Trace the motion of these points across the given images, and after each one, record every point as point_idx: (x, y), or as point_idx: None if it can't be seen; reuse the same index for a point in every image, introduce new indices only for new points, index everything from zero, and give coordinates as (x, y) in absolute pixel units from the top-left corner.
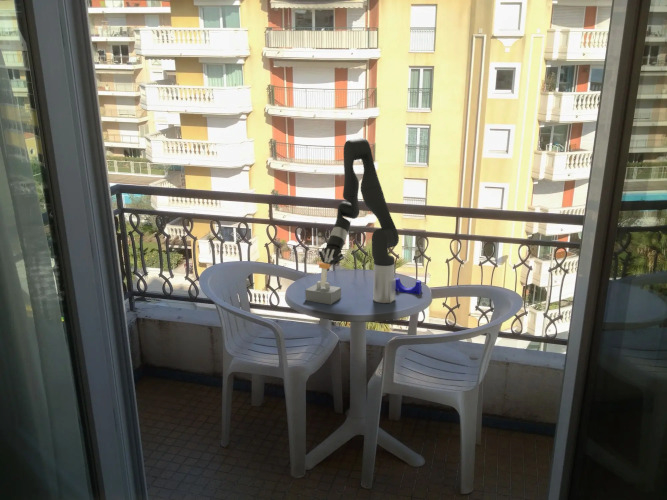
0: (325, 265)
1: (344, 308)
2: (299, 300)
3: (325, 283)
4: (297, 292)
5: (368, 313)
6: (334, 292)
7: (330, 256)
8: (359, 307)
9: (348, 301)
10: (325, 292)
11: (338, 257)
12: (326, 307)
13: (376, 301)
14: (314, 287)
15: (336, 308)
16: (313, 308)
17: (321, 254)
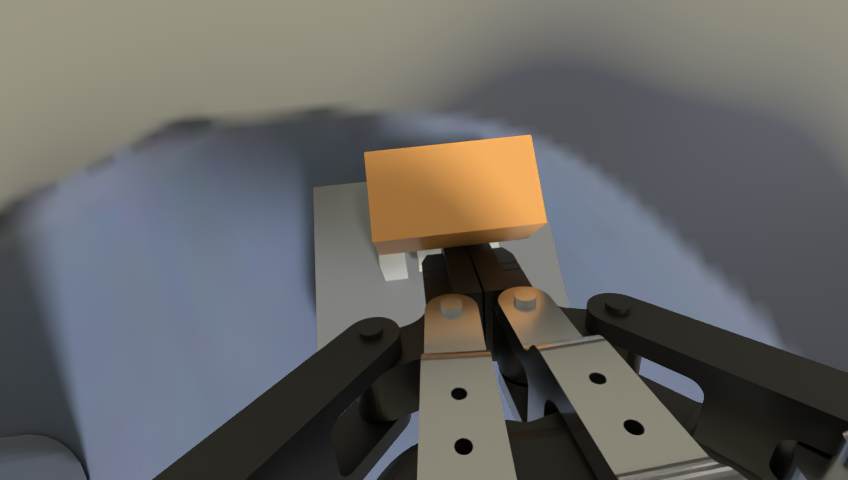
0: (410, 157)
1: (224, 207)
2: (545, 179)
3: None
4: (679, 299)
5: (55, 212)
6: (316, 245)
7: (467, 375)
8: (141, 271)
9: (256, 335)
10: (366, 190)
11: (231, 439)
12: (331, 167)
13: (45, 438)
14: (516, 244)
15: (269, 183)
16: (388, 119)
17: (801, 389)
